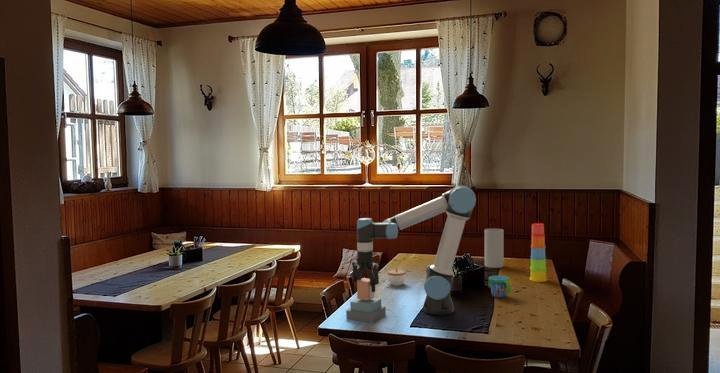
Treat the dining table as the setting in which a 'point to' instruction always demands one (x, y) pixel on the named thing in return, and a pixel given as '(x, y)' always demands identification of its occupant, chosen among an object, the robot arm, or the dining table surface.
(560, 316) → the dining table surface
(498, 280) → the snack cup
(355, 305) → the grey stepped block
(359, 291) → the terracotta brick
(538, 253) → the stacking cups
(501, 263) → the cylinder vase
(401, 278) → the lidded jar
